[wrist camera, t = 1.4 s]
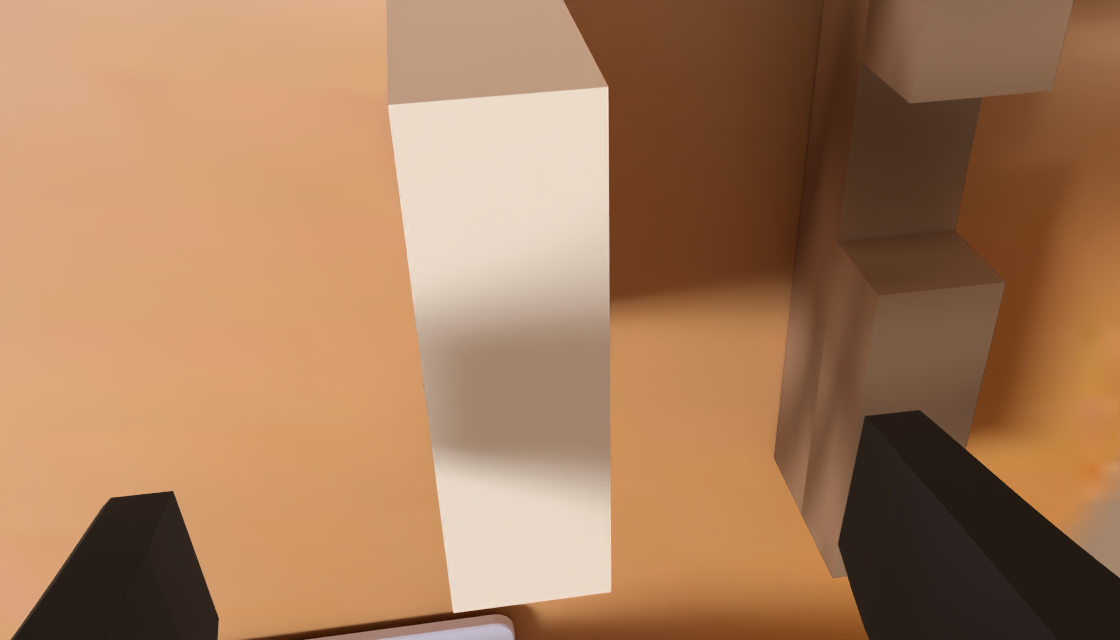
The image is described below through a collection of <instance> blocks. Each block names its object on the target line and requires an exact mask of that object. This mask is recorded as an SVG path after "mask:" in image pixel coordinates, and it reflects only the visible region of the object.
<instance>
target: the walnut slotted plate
mask: <svg viewBox="0 0 1120 640" xmlns="http://www.w3.org/2000/svg"><path fill="white" fill-rule="evenodd" d="M1073 1H1074V0H824V3H823V12H822V21H821V31H820V40H819V49H818V58H817V67H816V77H815V86H814V95H813V104H812V113H811V123H810V132H809V141H808V150H807V159H806V169H805V178H804V187H803V196H802V205H801V215H800V224H799V233H798V242H797V251H796V261H795V270H794V279H793V288H792V297H791V307H790V316H789V325H788V334H787V343H786V353H785V362H784V371H783V380H782V390H781V399H780V408H779V417H778V426H777V436H776V445H775V454H774V459H775V461H776V463H777V465H778V467H779V469H780V471H781V473H782V476H783V478H784V480H785V482H786V484H787V486H788V488H789V490H790V492H791V494H792V496H793V498H794V500H795V502H796V504H797V506H798V508H799V510H800V513H801V515H802V517H803V519H804V521H805V523H806V525H807V527H808V529H809V531H810V533H811V535H812V537H813V539H814V541H815V543H816V545H817V547H818V550H819V552H820V554H821V556H822V558H823V560H824V562H825V564H826V566H827V568H828V570H829V572H830V574H831V576H832V578H838V577H845V576H847V573H846V569H845V566H844V563H843V560H842V556H841V553H840V550H839V547H838V541H839V536H840V531H841V526H842V522H843V517H844V512H845V507H846V503H847V498H848V493H849V488H850V484H851V479H852V474H853V469H854V465H855V460H856V455H857V450H858V446H859V441H860V436H861V431H862V427H863V422H864V417H865V416H869V415H878V414H887V413H897V412H906V411H915V410H920V411H922V412H923V413H924V414H925V415H926V416H928V417H929V418H930V419H931V420H932V421H933V422H935V423H936V424H937V425H938V426H939V427H940V428H942V429H943V430H944V431H945V432H946V433H947V434H949V435H950V436H951V437H952V438H953V439H954V440H955V441H957V442H958V443H959V444H960V445H961V446H962V447H963V448H965V449H966V445H967V441H968V437H969V433H970V429H971V425H972V420H973V416H974V412H975V408H976V404H977V400H978V395H979V391H980V387H981V383H982V379H983V375H984V371H985V366H986V362H987V358H988V354H989V350H990V346H991V341H992V337H993V333H994V329H995V325H996V321H997V316H998V312H999V308H1000V304H1001V300H1002V296H1003V292H1004V287H1005V283H1006V282H1005V281H1004V280H1003V279H1002V278H1001V277H1000V276H999V275H998V274H997V273H996V272H995V271H994V270H993V269H992V268H991V267H990V266H989V265H988V264H987V263H986V262H985V261H984V260H983V259H982V258H981V257H980V256H979V255H978V254H977V253H976V252H975V251H974V250H973V249H972V248H971V247H970V246H969V245H968V243H967V242H966V241H965V240H964V239H963V238H962V237H961V236H960V235H959V234H958V233H957V232H956V231H955V226H956V221H957V216H958V211H959V206H960V201H961V197H962V192H963V187H964V182H965V177H966V172H967V167H968V162H969V157H970V152H971V147H972V142H973V137H974V132H975V127H976V122H977V117H978V112H979V108H980V103H981V98H982V97H990V96H1001V95H1013V94H1024V93H1036V92H1047V91H1052V88H1053V84H1054V80H1055V75H1056V71H1057V67H1058V63H1059V59H1060V55H1061V50H1062V46H1063V42H1064V38H1065V34H1066V30H1067V25H1068V21H1069V17H1070V13H1071V9H1072V5H1073Z"/></svg>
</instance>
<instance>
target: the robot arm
mask: <svg viewBox="0 0 1120 640" xmlns="http://www.w3.org/2000/svg"><path fill="white" fill-rule="evenodd" d="M838 547H839V550H840V553H841V556H842V560H843V563H844V566H845V569H846V573H847V576H848V579H849V582H850V586H851V589H852V592H853V595H854V598H855V601H856V604H857V607H858V610H859V613H860V616H861V619H862V622H863V625H864V628H865V631H866V633H867V635H868V637H869V640H1120V578H1119V577H1118V576H1116V575H1115V574H1114V573H1112V572H1111V571H1110V570H1109V569H1107V568H1106V567H1105V566H1104V565H1102V564H1101V563H1100V562H1098V561H1097V560H1096V559H1094V558H1093V557H1092V556H1091V555H1090V554H1089V553H1087V552H1086V551H1085V550H1084V549H1082V548H1081V547H1080V546H1079V545H1077V544H1076V543H1075V542H1074V541H1073V540H1071V539H1070V538H1069V537H1068V536H1067V535H1065V534H1064V533H1063V532H1062V531H1060V530H1059V529H1058V528H1057V527H1056V526H1054V525H1053V524H1052V523H1051V522H1050V521H1048V520H1047V519H1046V518H1045V517H1044V516H1042V515H1041V514H1040V513H1039V512H1038V511H1036V510H1035V509H1034V508H1033V507H1032V506H1031V505H1029V504H1028V503H1027V502H1026V501H1025V500H1023V499H1022V498H1021V497H1020V496H1019V495H1018V494H1017V493H1015V492H1014V491H1013V490H1012V489H1011V488H1010V487H1008V486H1007V485H1006V484H1005V483H1004V482H1003V481H1001V480H1000V479H999V478H998V477H997V476H996V475H994V474H993V473H992V472H991V471H990V470H989V469H988V468H986V467H985V466H984V465H983V464H982V463H981V462H979V461H978V460H977V459H976V458H975V457H974V456H973V455H971V454H970V453H969V452H968V451H967V450H966V449H965V448H963V447H962V446H961V445H960V444H959V443H958V442H957V441H955V440H954V439H953V438H952V437H951V436H950V435H949V434H947V433H946V432H945V431H944V430H943V429H942V428H940V427H939V426H938V425H937V424H936V423H935V422H933V421H932V420H931V419H930V418H929V417H928V416H926V415H925V414H924V413H923V412H922V411H920V410H915V411H906V412H897V413H887V414H878V415H869V416H865V417H864V422H863V427H862V431H861V436H860V441H859V446H858V450H857V455H856V460H855V465H854V469H853V474H852V479H851V484H850V488H849V493H848V498H847V503H846V507H845V512H844V517H843V522H842V526H841V531H840V536H839V541H838ZM218 622H219V618H218V615H217V612H216V609H215V607H214V604H213V601H212V598H211V596H210V593H209V590H208V587H207V584H206V582H205V579H204V576H203V573H202V570H201V568H200V565H199V562H198V559H197V556H196V554H195V551H194V548H193V545H192V542H191V540H190V537H189V534H188V531H187V529H186V526H185V523H184V520H183V517H182V515H181V512H180V509H179V506H178V503H177V501H176V498H175V495H174V492H173V491H170V492H160V493H151V494H142V495H133V496H124V497H114V498H110V499H109V501H108V502H107V503H106V504H105V505H104V506H103V507H102V509H101V510H100V512H99V513H98V514H97V516H96V517H95V519H94V520H93V522H92V523H91V525H90V526H89V528H88V529H87V531H86V532H85V534H84V535H83V537H82V538H81V540H80V541H79V542H78V544H77V545H76V547H75V548H74V550H73V551H72V553H71V554H70V556H69V557H68V559H67V560H66V562H65V563H64V565H63V566H62V568H61V569H60V570H59V572H58V573H57V575H56V576H55V578H54V579H53V581H52V582H51V584H50V585H49V586H48V588H47V589H46V591H45V592H44V594H43V595H42V596H41V598H40V599H39V601H38V602H37V604H36V605H35V606H34V608H33V609H32V611H31V612H30V614H29V615H28V616H27V618H26V619H25V621H24V622H23V624H22V625H21V626H20V628H19V629H18V630H17V632H16V633H15V635H14V636H13V637H12V639H11V640H217V638H218ZM306 640H515V633H514V626H513V623H512V620H511V619H509V618H508V617H507V616H503V615H500V614H493V615H485V616H478V617H470V618H463V619H455V620H448V621H440V622H433V623H426V624H418V625H411V626H403V627H396V628H388V629H381V630H373V631H366V632H359V633H351V634H344V635H336V636H329V637H321V638H314V639H306Z"/></svg>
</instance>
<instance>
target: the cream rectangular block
mask: <svg viewBox="0 0 1120 640" xmlns="http://www.w3.org/2000/svg"><path fill="white" fill-rule="evenodd" d="M386 4H387V75H388V110H389V117H390V125H391V133H392V141H393V148H394V156H395V164H396V172H397V179H398V187H399V195H400V203H401V211H402V218H403V226H404V234H405V242H406V249H407V257H408V265H409V273H410V281H411V288H412V296H413V304H414V312H415V319H416V327H417V335H418V343H419V351H420V358H421V366H422V374H423V382H424V389H425V397H426V405H427V413H428V420H429V428H430V436H431V444H432V452H433V459H434V467H435V475H436V483H437V490H438V498H439V506H440V514H441V522H442V529H443V537H444V545H445V553H446V560H447V568H448V576H449V584H450V591H451V599H452V607H453V613H458V612H466V611H473V610H481V609H488V608H496V607H503V606H511V605H518V604H526V603H533V602H540V601H548V600H555V599H563V598H570V597H578V596H585V595H593V594H600V593H608V592H611V479H610V292H609V105H608V85H607V83H606V81H605V79H604V77H603V76H602V74H601V72H600V70H599V68H598V66H597V64H596V62H595V60H594V58H593V56H592V54H591V53H590V51H589V49H588V47H587V45H586V43H585V41H584V39H583V37H582V35H581V33H580V31H579V30H578V28H577V26H576V24H575V22H574V20H573V18H572V16H571V14H570V12H569V10H568V8H567V7H566V5H565V3H564V1H563V0H386Z"/></svg>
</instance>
